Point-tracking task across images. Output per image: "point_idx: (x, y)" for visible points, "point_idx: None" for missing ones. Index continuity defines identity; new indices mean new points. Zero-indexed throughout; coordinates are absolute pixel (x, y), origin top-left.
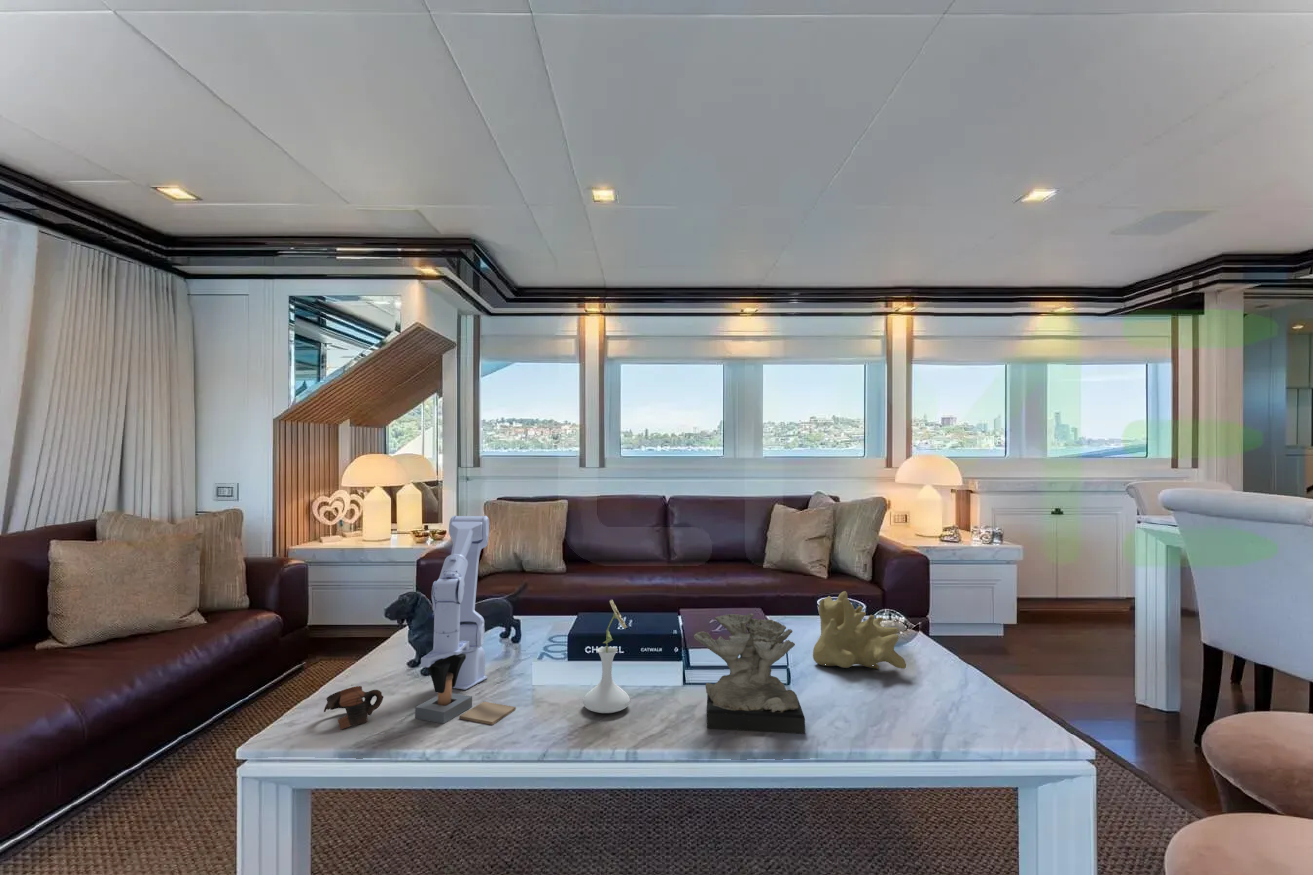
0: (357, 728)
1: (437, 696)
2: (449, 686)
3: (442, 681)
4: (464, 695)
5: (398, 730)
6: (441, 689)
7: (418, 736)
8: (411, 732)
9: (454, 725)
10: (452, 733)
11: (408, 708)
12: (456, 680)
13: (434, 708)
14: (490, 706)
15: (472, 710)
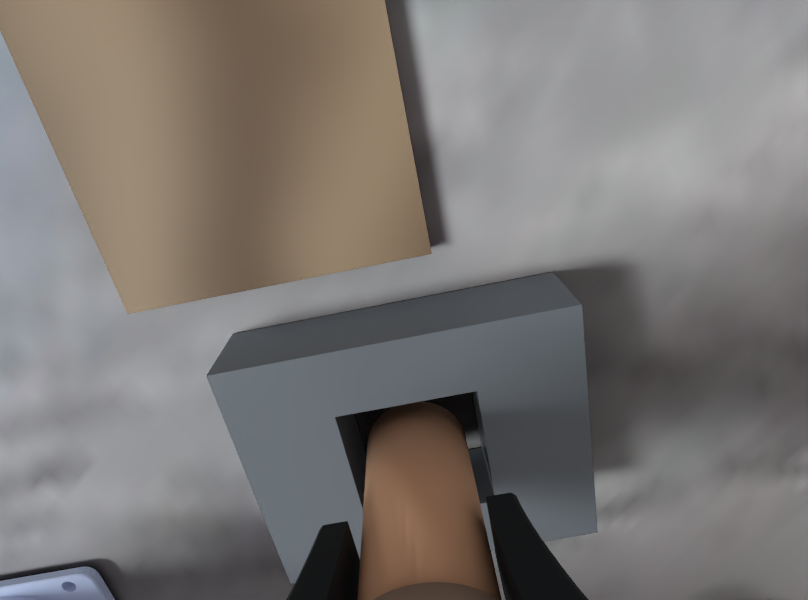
0: (794, 585)
1: None
2: (427, 521)
3: (574, 586)
4: (239, 436)
5: (747, 418)
6: (528, 521)
7: (784, 250)
8: (746, 336)
9: (537, 181)
10: (658, 72)
11: None
12: (306, 566)
13: (557, 418)
14: (147, 188)
15: (299, 251)
